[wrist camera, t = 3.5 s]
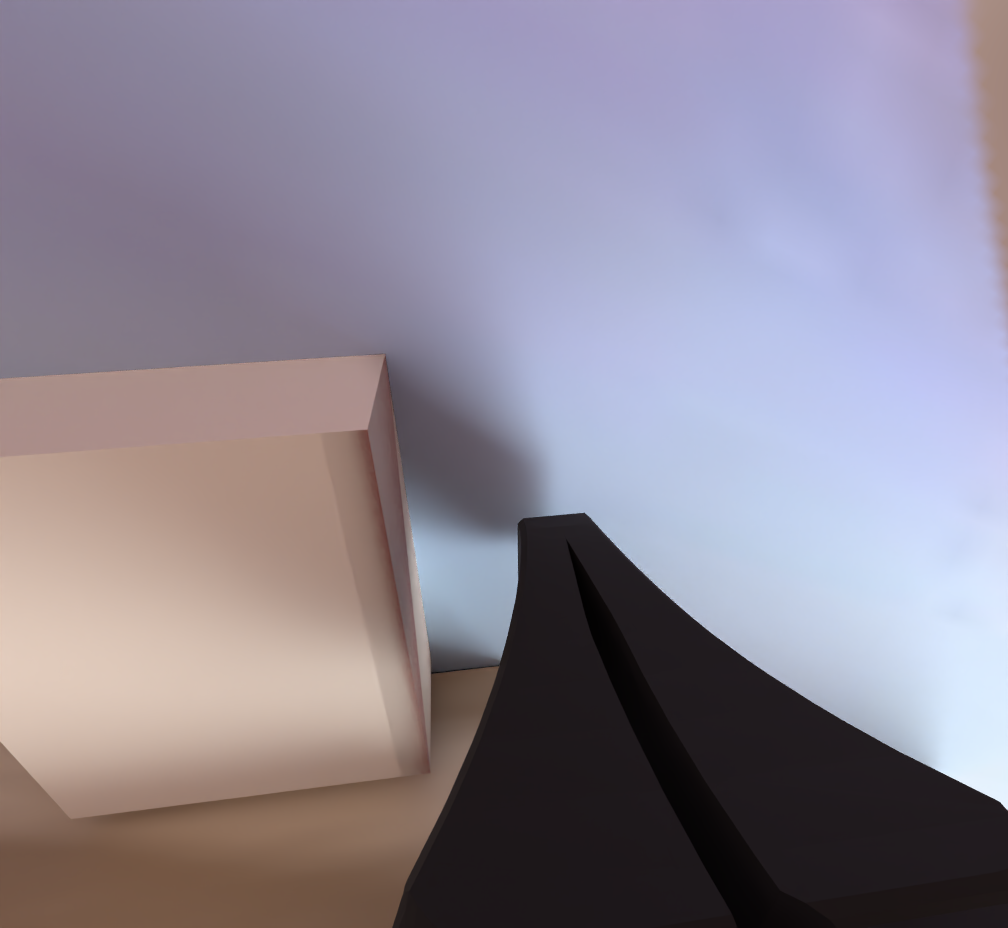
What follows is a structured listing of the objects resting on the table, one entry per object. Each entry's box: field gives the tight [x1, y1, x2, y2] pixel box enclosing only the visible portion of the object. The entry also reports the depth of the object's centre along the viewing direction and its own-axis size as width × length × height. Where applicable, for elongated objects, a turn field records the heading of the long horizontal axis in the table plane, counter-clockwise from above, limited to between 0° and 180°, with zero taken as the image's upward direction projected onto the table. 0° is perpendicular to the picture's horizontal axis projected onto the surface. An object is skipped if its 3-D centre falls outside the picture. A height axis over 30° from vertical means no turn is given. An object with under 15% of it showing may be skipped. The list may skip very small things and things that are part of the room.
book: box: [0, 354, 431, 819], centre depth 10 cm, size 8×7×3 cm
